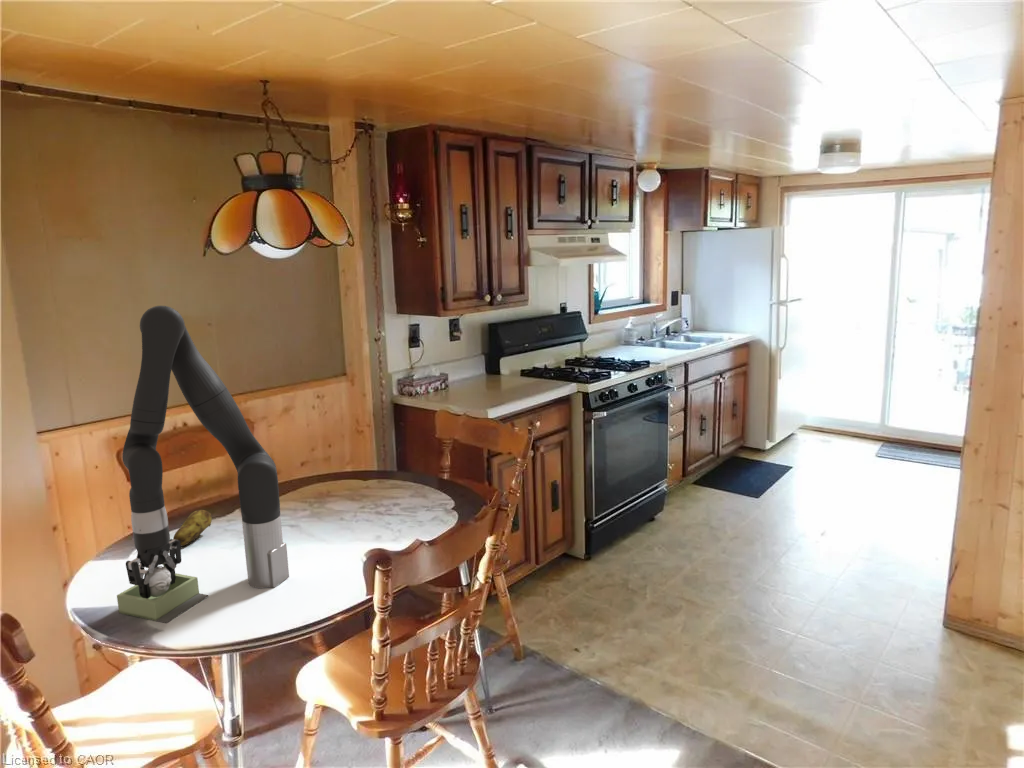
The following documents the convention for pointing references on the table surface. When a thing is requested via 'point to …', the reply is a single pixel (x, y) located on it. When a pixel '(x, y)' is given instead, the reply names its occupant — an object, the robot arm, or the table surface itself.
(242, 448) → the robot arm
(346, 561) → the table surface
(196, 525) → the potato
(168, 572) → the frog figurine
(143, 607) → the tray
